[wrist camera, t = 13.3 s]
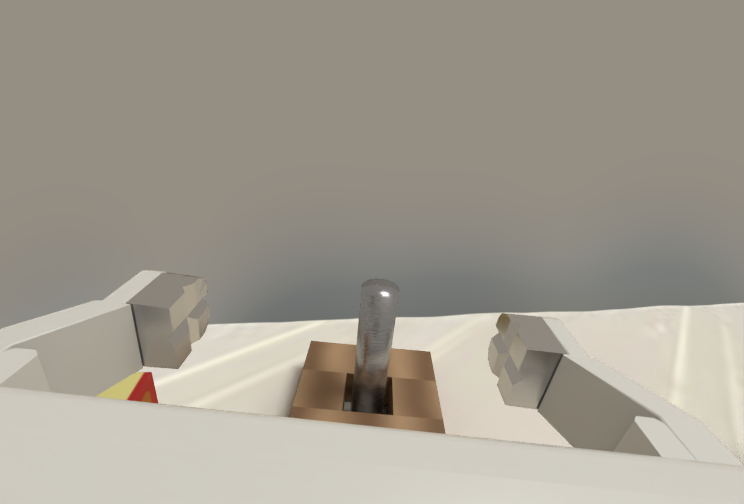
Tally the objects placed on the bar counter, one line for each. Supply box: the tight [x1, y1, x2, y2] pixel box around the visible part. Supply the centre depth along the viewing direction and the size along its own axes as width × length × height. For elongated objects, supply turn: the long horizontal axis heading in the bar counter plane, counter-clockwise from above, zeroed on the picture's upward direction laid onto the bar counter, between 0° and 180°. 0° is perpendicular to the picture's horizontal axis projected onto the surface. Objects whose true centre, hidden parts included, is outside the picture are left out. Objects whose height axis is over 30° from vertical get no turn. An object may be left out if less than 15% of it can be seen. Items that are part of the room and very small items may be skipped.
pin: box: [351, 279, 399, 414], centre depth 33 cm, size 3×3×16 cm
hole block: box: [289, 341, 445, 434], centre depth 35 cm, size 14×14×4 cm
